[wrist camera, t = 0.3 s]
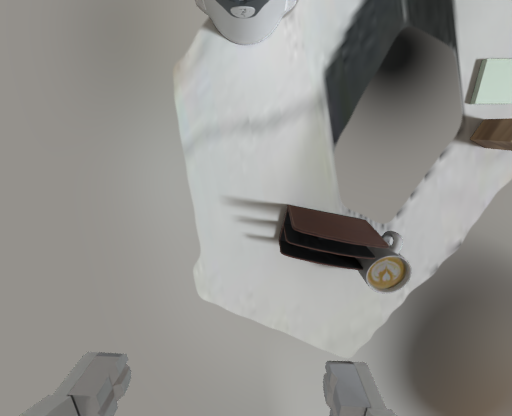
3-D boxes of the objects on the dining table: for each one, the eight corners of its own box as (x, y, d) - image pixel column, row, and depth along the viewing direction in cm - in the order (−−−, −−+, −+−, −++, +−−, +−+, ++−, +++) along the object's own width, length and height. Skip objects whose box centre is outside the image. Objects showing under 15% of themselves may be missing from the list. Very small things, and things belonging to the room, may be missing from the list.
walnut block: (469, 139, 52) (510, 141, 44) (484, 119, 51) (529, 118, 42) (485, 147, 53) (529, 152, 44) (500, 128, 51) (548, 129, 43)
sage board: (482, 60, 47) (487, 58, 46) (522, 60, 47) (529, 58, 46) (470, 104, 50) (475, 103, 49) (508, 104, 50) (514, 103, 48)
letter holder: (287, 204, 58) (294, 227, 44) (365, 219, 58) (395, 247, 45) (278, 240, 61) (282, 271, 47) (352, 254, 61) (377, 289, 48)
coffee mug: (371, 274, 64) (391, 300, 54) (342, 258, 62) (356, 282, 53) (405, 235, 60) (432, 256, 51) (374, 217, 58) (396, 235, 49)
